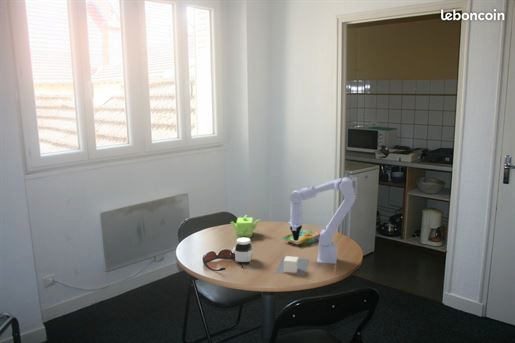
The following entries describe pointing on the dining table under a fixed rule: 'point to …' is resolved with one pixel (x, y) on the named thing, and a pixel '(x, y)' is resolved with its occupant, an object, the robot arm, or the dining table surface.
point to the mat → (301, 267)
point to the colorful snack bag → (303, 237)
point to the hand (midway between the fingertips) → (296, 240)
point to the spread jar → (243, 251)
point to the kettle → (245, 226)
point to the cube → (291, 264)
